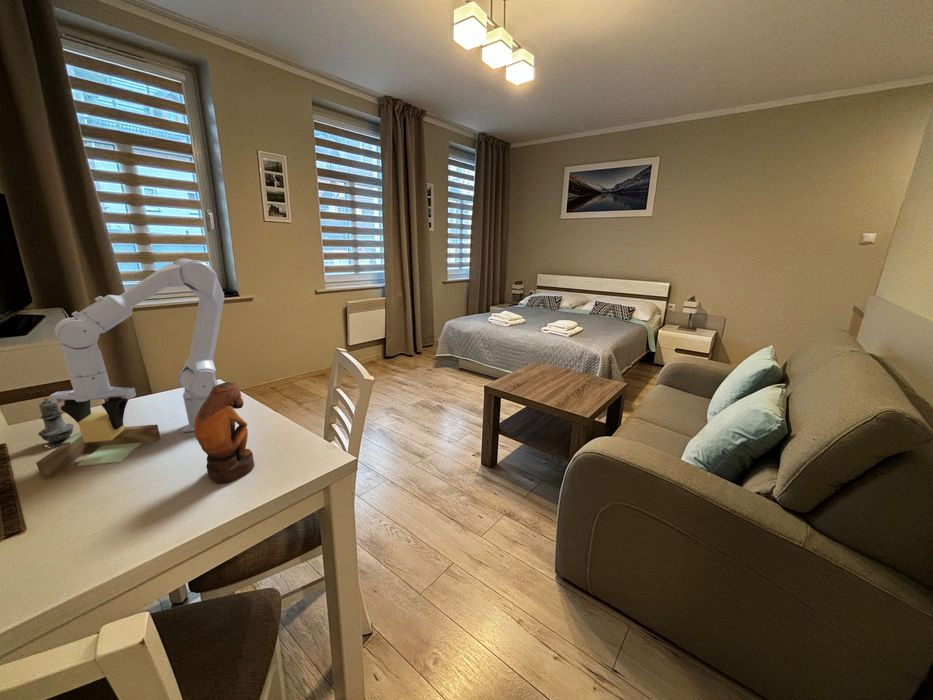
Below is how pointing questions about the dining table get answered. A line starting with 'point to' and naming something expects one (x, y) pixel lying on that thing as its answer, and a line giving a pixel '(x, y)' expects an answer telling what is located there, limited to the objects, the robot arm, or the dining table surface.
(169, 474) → the dining table surface
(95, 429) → the ochre block
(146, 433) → the walnut walls
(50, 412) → the grey stone finial
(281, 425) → the dining table surface
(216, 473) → the figurine
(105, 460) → the sage pad
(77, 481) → the dining table surface
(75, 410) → the robot arm
